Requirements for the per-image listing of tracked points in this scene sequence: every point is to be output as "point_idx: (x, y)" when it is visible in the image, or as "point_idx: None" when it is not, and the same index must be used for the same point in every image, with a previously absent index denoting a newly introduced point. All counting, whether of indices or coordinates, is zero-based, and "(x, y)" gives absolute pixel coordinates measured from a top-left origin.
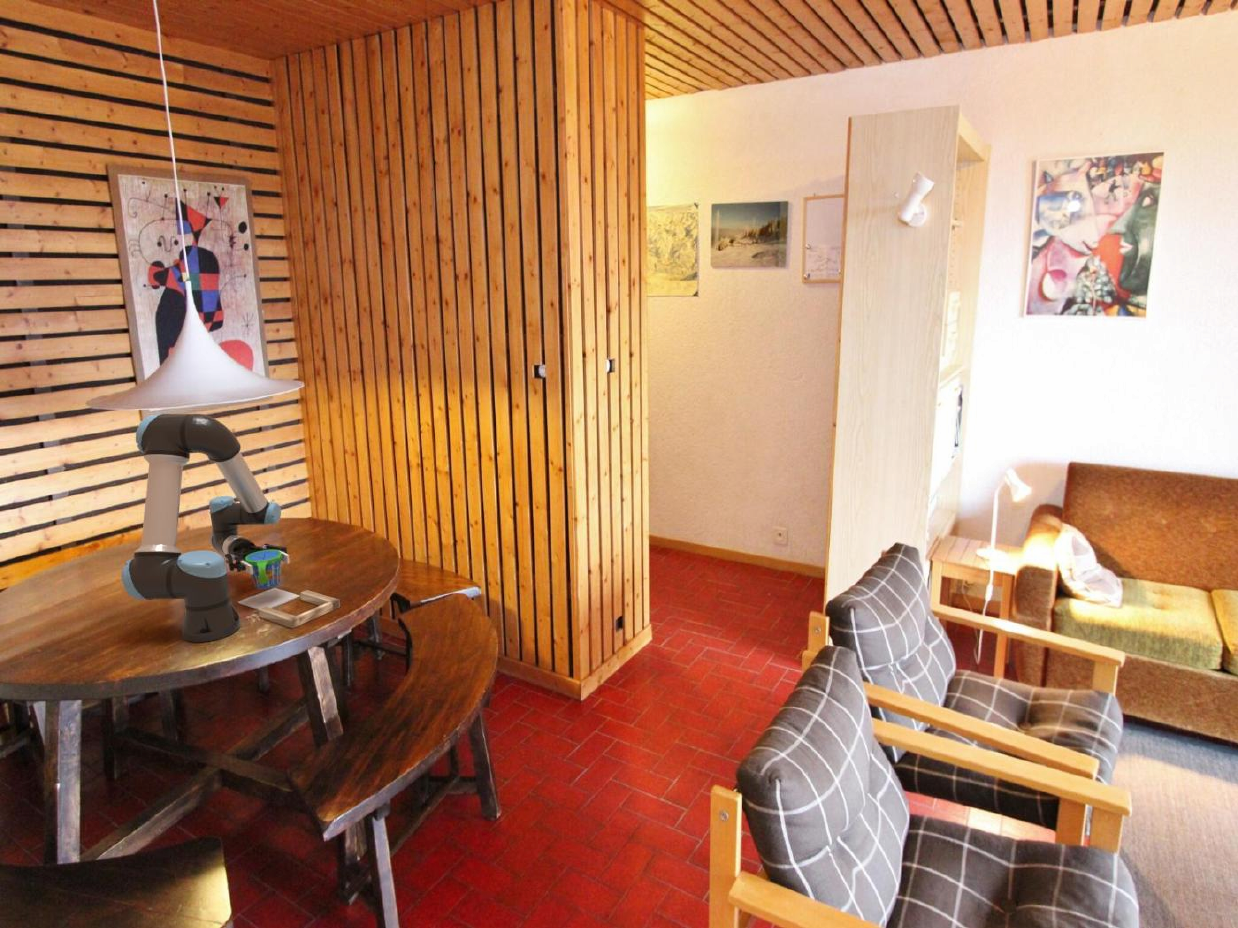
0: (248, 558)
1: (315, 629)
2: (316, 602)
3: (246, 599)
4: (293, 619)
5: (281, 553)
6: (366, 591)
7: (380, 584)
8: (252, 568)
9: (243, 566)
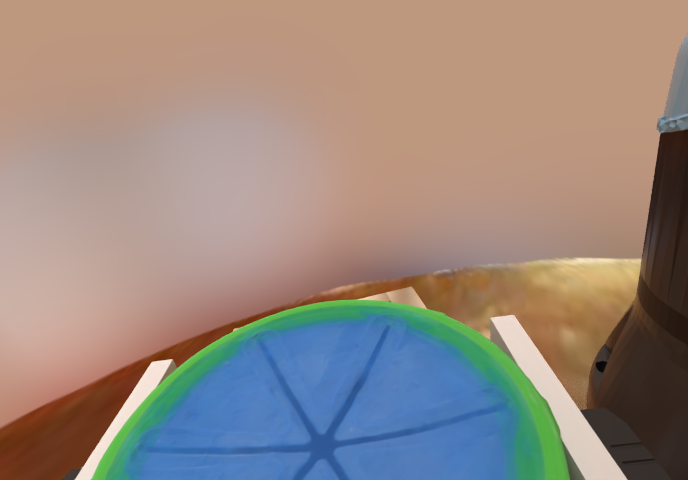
0: (517, 468)
1: (369, 285)
2: None
3: None
4: (404, 290)
5: (176, 369)
6: (91, 406)
7: (8, 431)
8: (492, 339)
9: (587, 411)
